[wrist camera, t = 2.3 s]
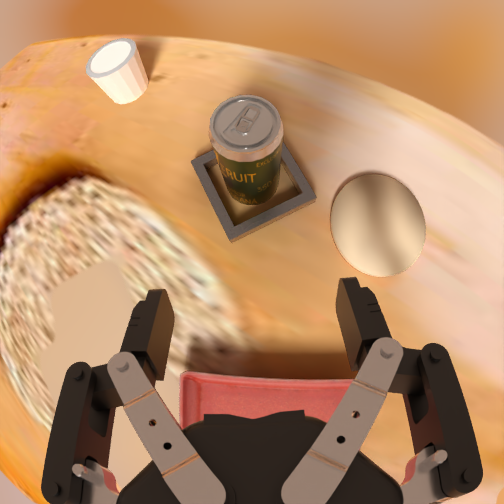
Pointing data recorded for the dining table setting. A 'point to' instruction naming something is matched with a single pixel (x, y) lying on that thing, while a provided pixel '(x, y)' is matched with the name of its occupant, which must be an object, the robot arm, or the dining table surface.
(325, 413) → the plant saucer
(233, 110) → the beer can
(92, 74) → the white tapered cylinder
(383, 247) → the coaster
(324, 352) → the dining table surface
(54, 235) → the dining table surface
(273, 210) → the collar
